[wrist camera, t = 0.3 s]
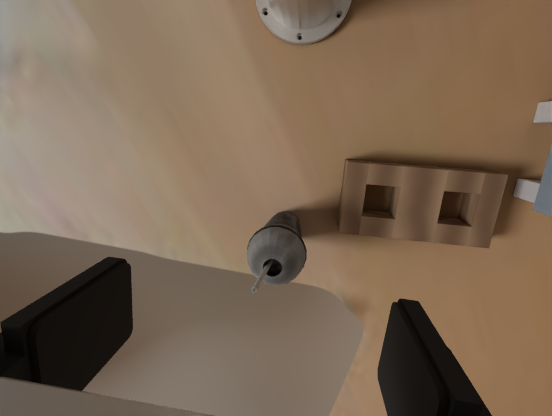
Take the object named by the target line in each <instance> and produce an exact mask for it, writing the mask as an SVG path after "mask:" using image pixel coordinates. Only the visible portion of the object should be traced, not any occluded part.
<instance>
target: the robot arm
mask: <svg viewBox="0 0 552 416" xmlns="http://www.w3.org/2000/svg"><path fill="white" fill-rule="evenodd" d="M351 1H352V0H256V4H257V9H258V11H259V14H260V16H261V18H262V20H263V22H264V24H265V25H266V27H267V28H268V29H269V31H270V32H271V33H273V34H274V35H275V36H276V37H277V38H279V39H281V40H282V41H284V42H287V43H290V44H295V45H308V44H313V43H316V42H319V41H321V40H323V39H324V38H326V37H328V36H329V35H330V34H331V33H333V32H334V31H335V30H336V29H337V28H338V27H339V25H340V24H341V23H342V21H343V20H344V18H345V16H346V15H347V13H348V10H349V7H350V5H351ZM265 12H267V13H268V14H267V15H264V14H265ZM337 15H340V18H337V17H336V16H337ZM298 37H302V39H301V40H298ZM1 328H2V332H1V333H0V416H214V415H208V414H204V413H198V412H193V411H188V410H182V409H177V408H172V407H166V406H161V405H155V404H150V403H145V402H139V401H134V400H129V399H123V398H118V397H112V396H106V395H101V394H96V393H89V392H84V391H82V390H83V389H84V388H85V387H86V386H87V384H88V383H89V382H90V381H91V380H92V379H93V378H94V377H95V376H96V374H97V373H98V372H99V371H100V370H101V369H102V367H104V365H105V364H106V363H107V362H108V361H109V360H110V359H111V358H112V356H113V355H114V354H115V353H116V352H117V351H118V350H119V348H120V347H121V346H122V345H123V344H124V343H125V342H126V341H127V340H128V338H129V337H130V335H131V333H132V329H133V319H132V288H131V266H130V264H128V263H127V261H126V260H125V259H121V258H114V257H107V258H105V259H103V260H102V261H100V262H99V263H97V264H95V265H94V266H92V267H90V268H89V269H87V270H85V271H84V272H82V273H81V274H79V275H77V276H76V277H74V278H72V279H71V280H69V281H68V282H66V283H64V284H63V285H61V286H59V287H58V288H56V289H54V290H53V291H51V292H50V293H48V294H46V295H45V296H43V297H41V298H40V299H38V300H36V301H35V302H33V303H31V304H30V305H28V306H27V307H25V308H23V309H22V310H20V311H18V312H17V313H15V314H13V315H12V316H11V317H9V318H7V319H5V320H4V321H2V322H1ZM378 381H379V385H380V389H381V392H382V396H383V400H384V404H385V408H386V411H387V415H388V416H492V415H491V413H490V412H489V410H488V409H487V407H486V406H485V404H484V402H483V401H482V399H481V398H480V396H479V394H478V393H477V391H476V390H475V388H474V387H473V385H472V383H471V382H470V380H469V379H468V377H467V375H466V374H465V372H464V371H463V369H462V367H461V366H460V364H459V363H458V361H457V360H456V358H455V356H454V355H453V353H452V352H451V350H450V349H449V348H448V347H447V346H446V345H445V343H444V341H443V340H442V338H441V337H440V335H439V333H438V332H437V330H436V329H435V327H434V325H433V324H432V322H431V321H430V319H429V317H428V316H427V314H426V313H425V311H424V309H423V308H422V306H421V305H420V303H419V302H418V301H414V300H407V299H399V300H398V302H393V303H392V306H391V310H390V315H389V320H388V324H387V329H386V333H385V338H384V343H383V347H382V352H381V356H380V361H379V366H378Z"/></svg>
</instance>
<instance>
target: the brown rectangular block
mask: <svg viewBox="0 0 552 416" xmlns="http://www.w3.org/2000/svg"><path fill="white" fill-rule="evenodd" d="M507 178H508V175H507V174H502V173H498V172H493V171H486V170H473V169H461V168H449V167H436V166H424V165H411V164H399V163H386V162H374V161H361V160H349V159H345V165H344V173H343V181H342V189H341V197H340V205H339V213H338V220H337V226H338V230H339V233H346V234H355V235H365V236H375V237H384V238H394V239H404V240H413V241H423V242H433V243H442V244H452V245H462V246H471V247H481V248H489V246H490V242H491V238H492V234H493V231H494V227H495V223H496V219H497V216H498V212H499V208H500V205H501V201H502V197H503V193H504V190H505V186H506V182H507ZM366 184H371V185H382V186H392V192H391V198H390V204H389V210H388V212H384V211H374V210H363V204H364V197H365V191H366ZM444 191H451V192H462V193H464V196H463V200H462V205H461V209H460V213H459V217H458V219H457V218H447V217H439V212H440V208H441V203H442V198H443V194H444Z"/></svg>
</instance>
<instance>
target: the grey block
mask: <svg viewBox="0 0 552 416" xmlns="http://www.w3.org/2000/svg"><path fill="white" fill-rule="evenodd" d="M533 123H548V124H552V101H548V102H540V103H538V107H537V111H536V114H535V118H534V121H533ZM513 196H514V197H517V198H520V199H523V200H527V201H530V202H533V203H534V206H533V209H532V210H535V211H537V212H540V213H543V214H546V215H548V216H551V217H552V145H551V149H550V152H549V155H548V159H547V162H546V166H545V169H544V172H543V176H542V179H541V181H539V180H530V179H517V183H516V187H515V190H514V194H513Z"/></svg>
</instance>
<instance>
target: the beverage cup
mask: <svg viewBox="0 0 552 416" xmlns="http://www.w3.org/2000/svg"><path fill="white" fill-rule="evenodd" d="M247 259H248V264H249V267H250V270H251V272H252V273H253V274H254V275H255V277H256V278H258V279H257V281H256V282H255V284H254V286H253V287H252V292H253V293H255V292H256V291H257V289H258V288H259V286H260V284H261V282H263V283H266V284H270V285H282V284H286V283H288V282H290V281H291V280H293V279H294V278H296V277H297V275H298V274H299V273H300V272H301V270H302V268H303V267H304V264H305V261H306V247H305V244H304V241H303V240H302V237H301V230H300V225H299V221H298V219H297V218H296V216H295V215H294V214H292V213H290V212H279V213H277V214H276V215H275V216H274V217H272V218H271V220H270V221H269V222H268V223H267V224H266V225H265V226H264V228H261V229H260V230H258V231H257V232H256V233H255V234H254V235H253V236H252V238H251V239H250V241H249V244H248V248H247Z"/></svg>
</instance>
